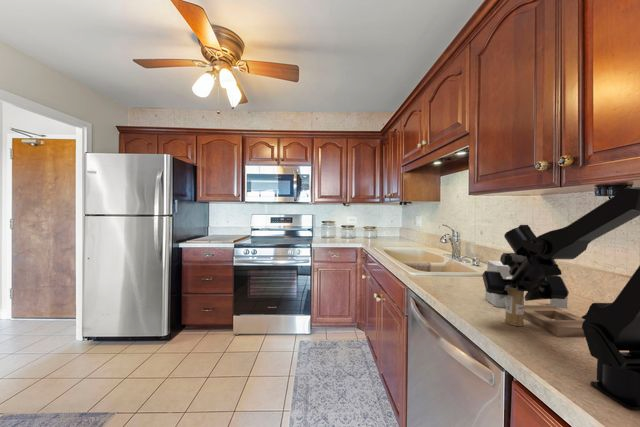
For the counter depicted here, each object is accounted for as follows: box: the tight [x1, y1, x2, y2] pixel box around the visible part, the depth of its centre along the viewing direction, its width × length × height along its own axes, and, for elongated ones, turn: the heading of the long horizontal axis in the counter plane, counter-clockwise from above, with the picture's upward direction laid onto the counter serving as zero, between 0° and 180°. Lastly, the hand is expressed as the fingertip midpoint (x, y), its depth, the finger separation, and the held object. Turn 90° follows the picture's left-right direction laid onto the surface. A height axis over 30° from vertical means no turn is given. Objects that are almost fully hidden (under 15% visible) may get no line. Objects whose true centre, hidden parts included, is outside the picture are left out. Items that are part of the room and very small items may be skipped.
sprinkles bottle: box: [504, 277, 525, 327], centre depth 76 cm, size 5×5×14 cm
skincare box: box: [484, 259, 513, 308], centre depth 93 cm, size 8×6×15 cm
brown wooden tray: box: [523, 304, 585, 338], centre depth 77 cm, size 16×13×2 cm
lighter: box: [549, 295, 569, 309], centre depth 91 cm, size 7×2×8 cm, turn 65°
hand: (512, 298), depth 78 cm, fingers open, 6 cm apart
